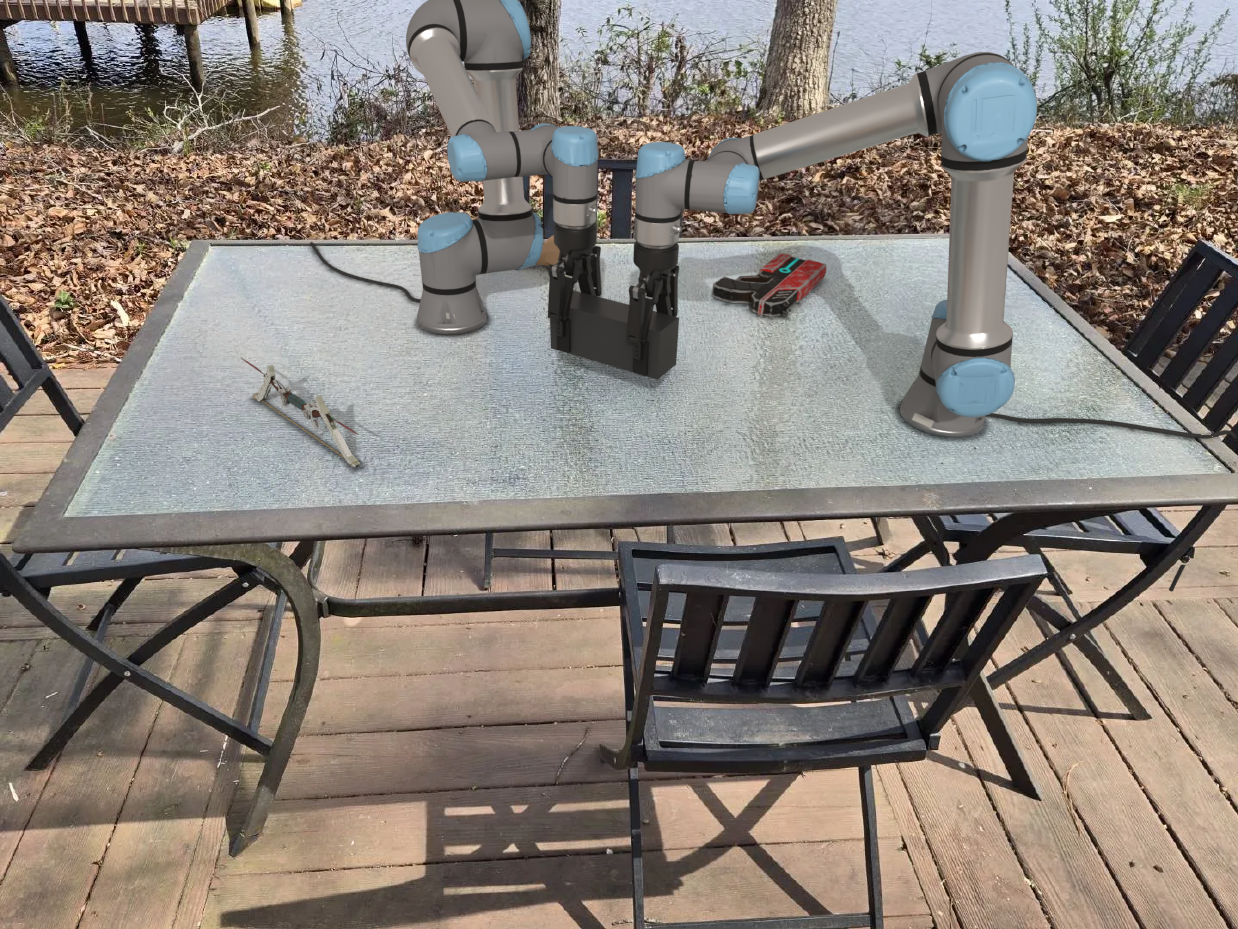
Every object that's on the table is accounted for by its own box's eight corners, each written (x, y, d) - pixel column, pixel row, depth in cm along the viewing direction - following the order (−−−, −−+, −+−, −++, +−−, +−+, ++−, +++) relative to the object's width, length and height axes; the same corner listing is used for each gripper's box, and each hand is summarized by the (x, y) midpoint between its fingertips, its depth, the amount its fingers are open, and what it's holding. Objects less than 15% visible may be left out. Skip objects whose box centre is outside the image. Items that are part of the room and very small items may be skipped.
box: (550, 348, 164) (549, 302, 159) (571, 334, 169) (571, 289, 164) (657, 380, 154) (660, 331, 149) (676, 364, 159) (679, 317, 154)
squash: (595, 275, 222) (590, 243, 216) (517, 282, 224) (510, 251, 218) (596, 253, 230) (591, 222, 224) (521, 260, 232) (514, 229, 225)
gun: (708, 284, 207) (784, 305, 199) (760, 245, 229) (831, 262, 221) (706, 302, 209) (781, 323, 201) (758, 261, 231) (828, 278, 223)
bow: (370, 470, 147) (362, 419, 141) (361, 474, 146) (352, 423, 140) (254, 390, 168) (243, 343, 163) (245, 394, 167) (233, 346, 162)
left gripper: (560, 243, 143) (562, 368, 156) (623, 211, 158) (619, 328, 170) (523, 234, 146) (527, 357, 159) (587, 204, 161) (587, 319, 174)
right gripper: (646, 264, 137) (641, 393, 149) (703, 229, 151) (694, 349, 164) (605, 254, 140) (603, 382, 152) (665, 221, 154) (659, 339, 167)
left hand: (575, 342), depth 165 cm, fingers closed on box, 7 cm apart
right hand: (650, 365), depth 158 cm, fingers closed on box, 7 cm apart
